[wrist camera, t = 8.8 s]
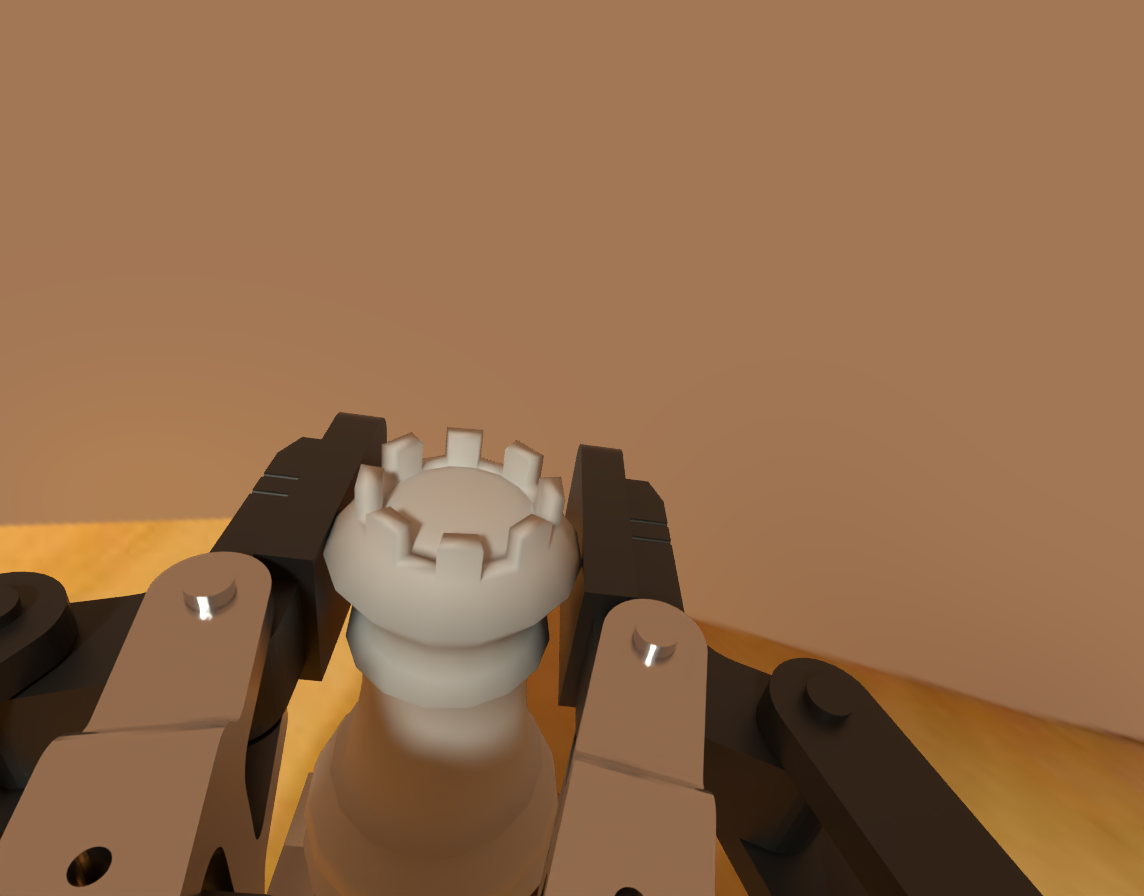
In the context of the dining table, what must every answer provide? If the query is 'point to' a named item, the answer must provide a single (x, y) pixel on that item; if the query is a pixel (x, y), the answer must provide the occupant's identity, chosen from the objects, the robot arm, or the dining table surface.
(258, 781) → the robot arm
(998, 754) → the dining table surface
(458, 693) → the rook chess piece
